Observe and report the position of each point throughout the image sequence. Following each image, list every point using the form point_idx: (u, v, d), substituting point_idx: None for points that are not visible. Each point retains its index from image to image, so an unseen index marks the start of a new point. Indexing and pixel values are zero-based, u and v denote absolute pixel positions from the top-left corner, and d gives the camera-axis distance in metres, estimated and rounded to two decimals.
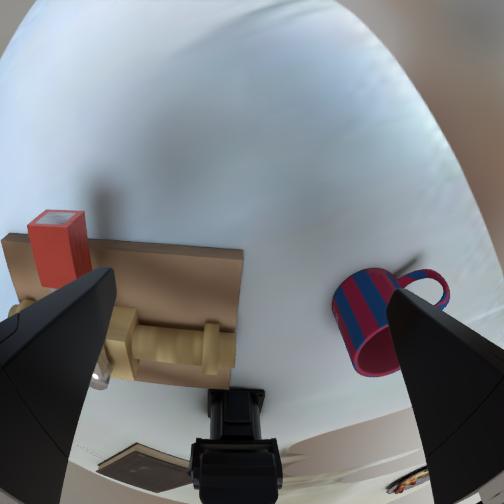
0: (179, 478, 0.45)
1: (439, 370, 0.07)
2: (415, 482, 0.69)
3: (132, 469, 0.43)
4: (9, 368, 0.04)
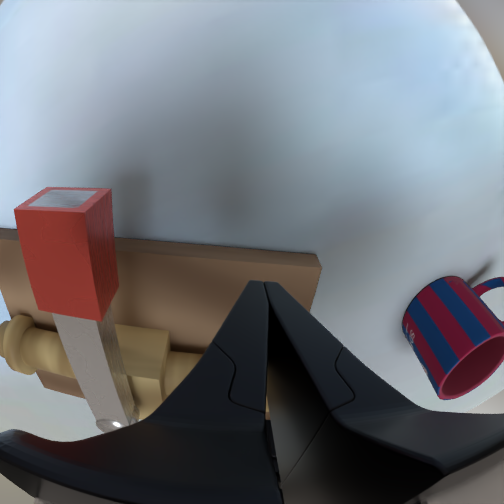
0: None
1: (282, 382, 0.06)
2: None
3: None
4: (254, 411, 0.04)
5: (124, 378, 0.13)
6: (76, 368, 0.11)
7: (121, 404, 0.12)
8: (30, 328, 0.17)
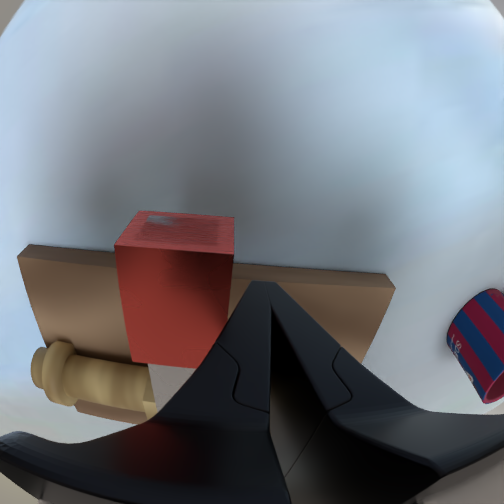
0: None
1: (280, 382, 0.06)
2: None
3: None
4: (258, 411, 0.04)
5: None
6: None
7: None
8: (72, 356, 0.16)
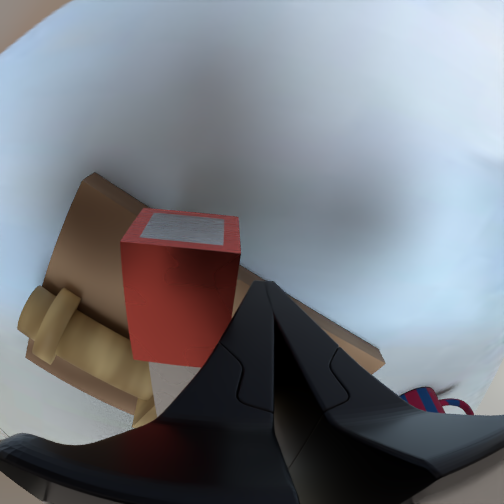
0: None
1: (278, 382, 0.06)
2: None
3: None
4: (262, 411, 0.04)
5: None
6: None
7: None
8: (78, 313, 0.15)
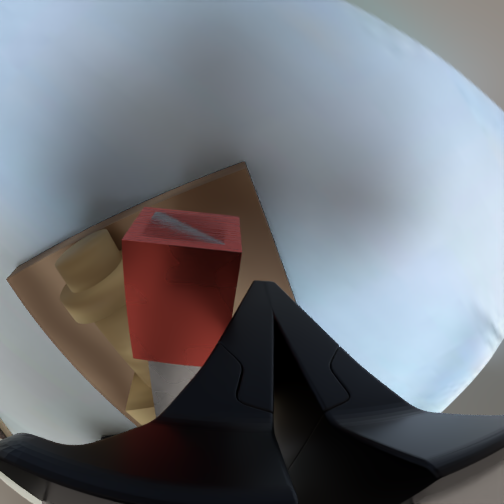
0: None
1: (278, 382, 0.06)
2: None
3: None
4: (261, 411, 0.04)
5: None
6: (162, 411, 0.10)
7: None
8: None
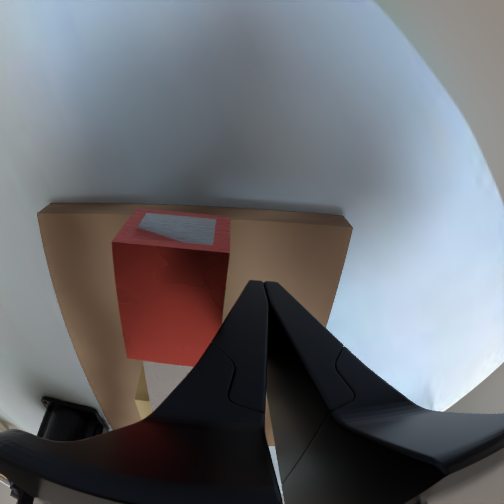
0: None
1: (283, 382, 0.06)
2: None
3: None
4: (253, 411, 0.04)
5: None
6: None
7: None
8: None
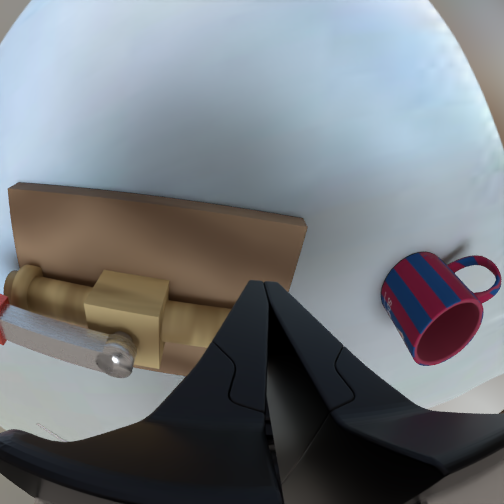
0: None
1: (283, 382, 0.06)
2: None
3: None
4: (253, 411, 0.04)
5: (65, 326, 0.16)
6: (40, 350, 0.16)
7: (65, 342, 0.15)
8: (38, 276, 0.19)
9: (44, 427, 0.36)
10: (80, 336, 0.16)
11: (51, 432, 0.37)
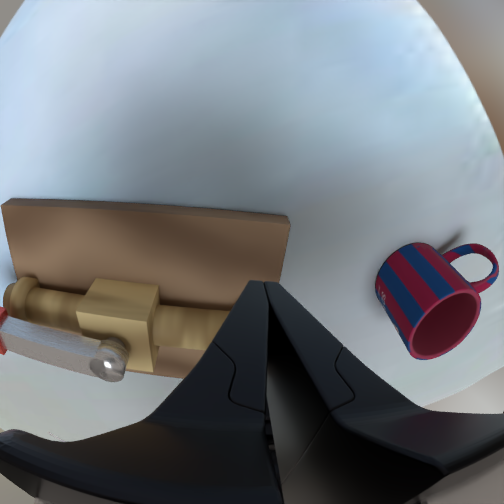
0: None
1: (283, 382, 0.06)
2: None
3: None
4: (254, 411, 0.04)
5: (59, 334, 0.17)
6: (37, 358, 0.16)
7: (59, 349, 0.16)
8: (35, 287, 0.20)
9: (54, 435, 0.37)
10: (73, 343, 0.17)
11: (62, 440, 0.38)
